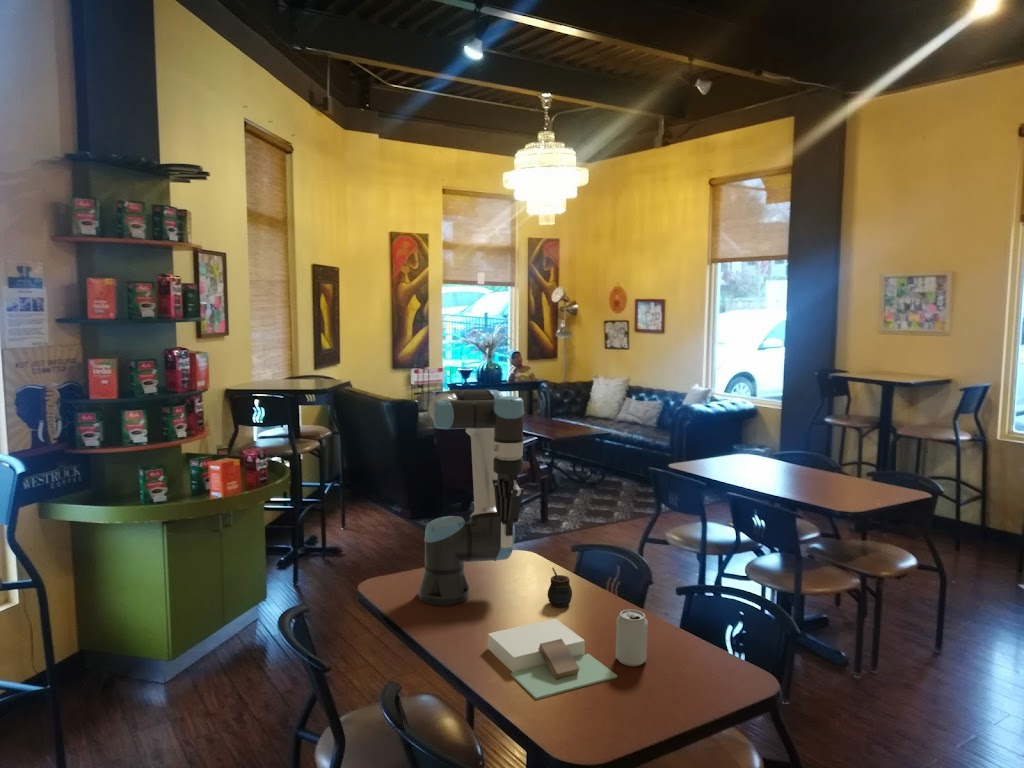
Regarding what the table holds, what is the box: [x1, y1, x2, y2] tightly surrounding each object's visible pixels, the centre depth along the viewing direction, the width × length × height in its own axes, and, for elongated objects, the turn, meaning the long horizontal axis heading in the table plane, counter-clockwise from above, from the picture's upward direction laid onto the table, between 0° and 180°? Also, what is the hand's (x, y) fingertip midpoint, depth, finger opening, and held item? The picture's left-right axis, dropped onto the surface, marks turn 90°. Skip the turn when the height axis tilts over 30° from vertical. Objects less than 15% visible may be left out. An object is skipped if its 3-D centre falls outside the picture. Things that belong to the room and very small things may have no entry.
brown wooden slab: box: [538, 639, 580, 680], centre depth 171 cm, size 9×6×2 cm, turn 28°
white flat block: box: [487, 618, 586, 673], centre depth 181 cm, size 14×20×4 cm
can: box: [615, 608, 649, 667], centre depth 177 cm, size 8×8×12 cm
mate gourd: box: [547, 567, 573, 608], centre depth 211 cm, size 7×8×10 cm
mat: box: [510, 653, 618, 701], centre depth 169 cm, size 12×22×1 cm, turn 118°
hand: (506, 546), depth 187 cm, fingers closed
